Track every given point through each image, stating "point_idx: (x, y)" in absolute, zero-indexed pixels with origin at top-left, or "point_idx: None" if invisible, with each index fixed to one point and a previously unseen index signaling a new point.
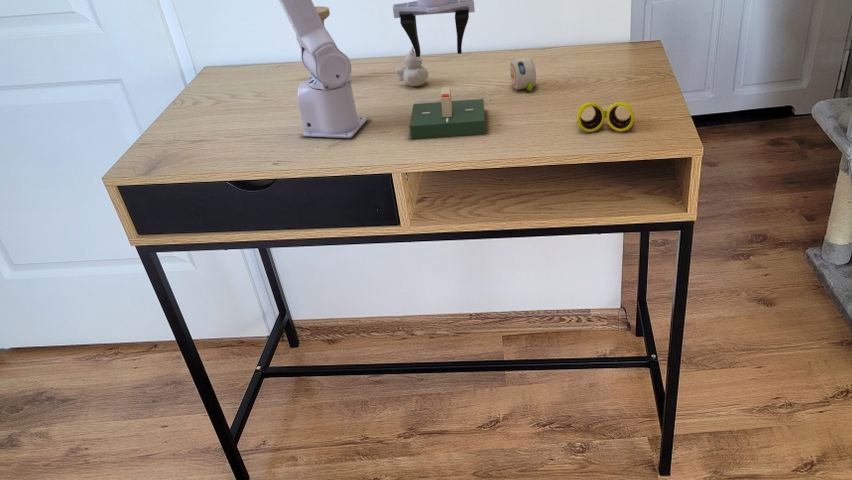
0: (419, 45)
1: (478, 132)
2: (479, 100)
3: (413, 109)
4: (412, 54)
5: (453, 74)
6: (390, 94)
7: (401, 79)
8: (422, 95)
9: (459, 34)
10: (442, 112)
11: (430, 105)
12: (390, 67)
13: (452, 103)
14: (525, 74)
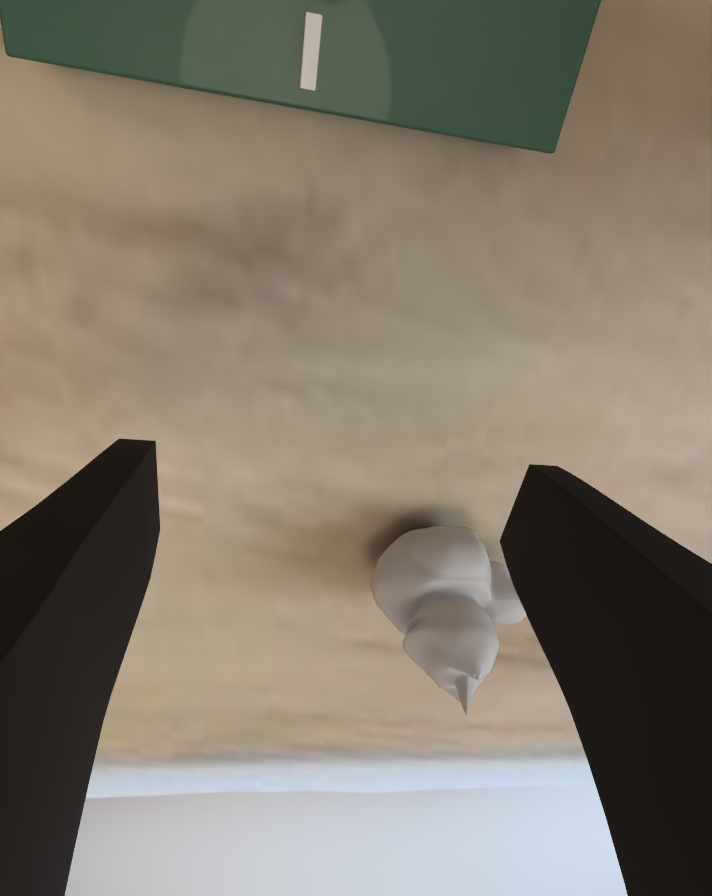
0: (522, 596)
1: None
2: (36, 18)
3: (587, 21)
4: (466, 662)
5: (250, 615)
6: None
7: (496, 563)
8: (416, 438)
9: (14, 569)
10: None
11: (449, 62)
12: (480, 697)
13: (275, 40)
14: None
